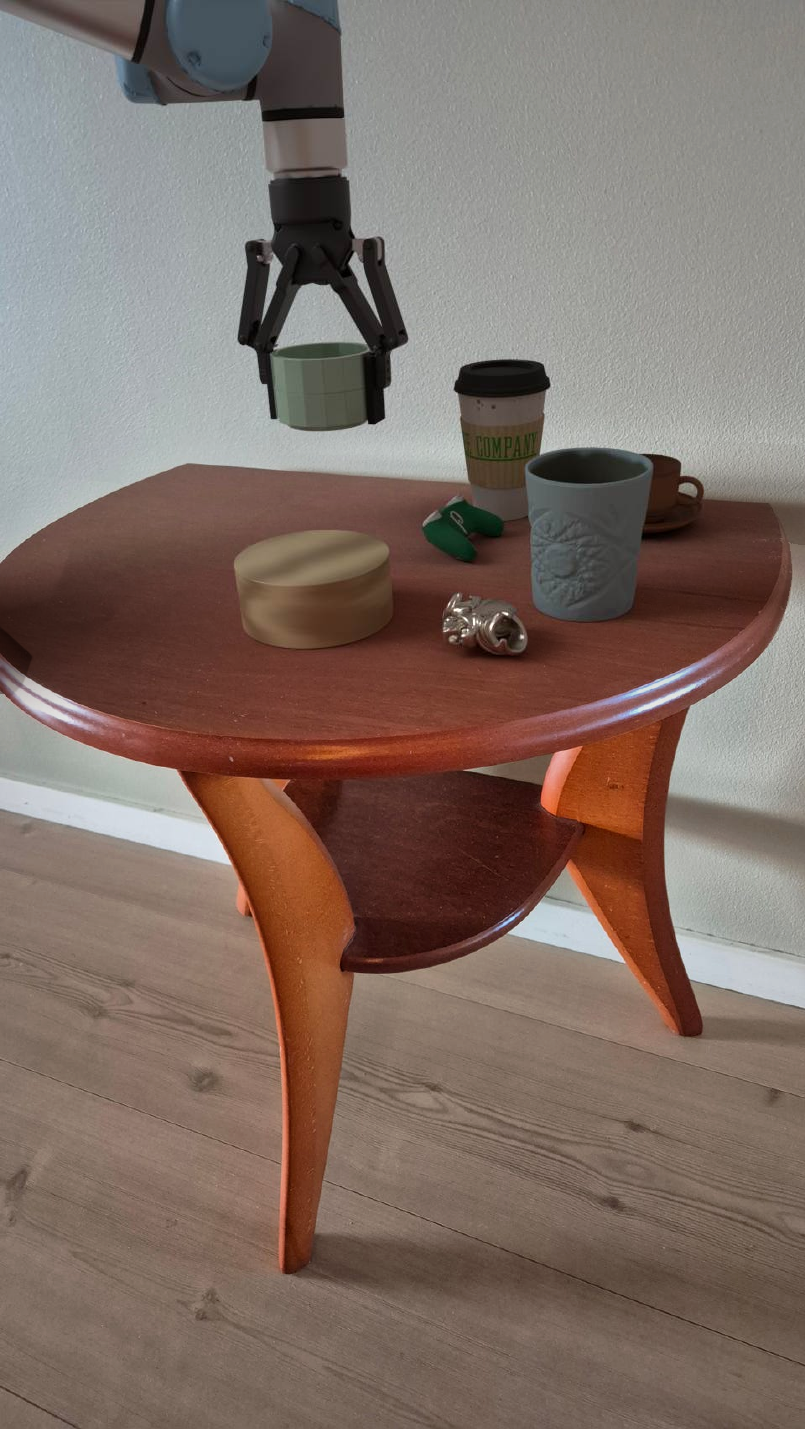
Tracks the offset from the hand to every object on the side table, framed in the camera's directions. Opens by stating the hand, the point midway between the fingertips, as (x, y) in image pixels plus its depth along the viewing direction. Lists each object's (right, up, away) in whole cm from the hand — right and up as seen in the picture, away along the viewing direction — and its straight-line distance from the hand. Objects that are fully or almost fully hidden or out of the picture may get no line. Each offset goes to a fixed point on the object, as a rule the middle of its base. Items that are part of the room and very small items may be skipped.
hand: (327, 419), depth 102 cm
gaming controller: (+14, -14, -4) cm, 20 cm away
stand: (+1, -22, -17) cm, 28 cm away
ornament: (+14, -25, -23) cm, 37 cm away
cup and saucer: (+32, -11, -1) cm, 34 cm away
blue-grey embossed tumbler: (+23, -21, -17) cm, 36 cm away
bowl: (0, 0, 0) cm, 0 cm away
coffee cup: (+19, -9, +5) cm, 21 cm away
